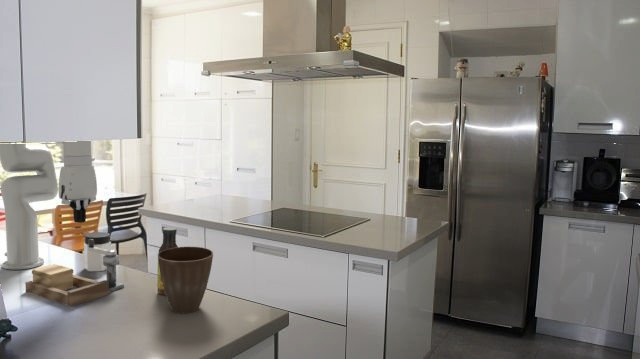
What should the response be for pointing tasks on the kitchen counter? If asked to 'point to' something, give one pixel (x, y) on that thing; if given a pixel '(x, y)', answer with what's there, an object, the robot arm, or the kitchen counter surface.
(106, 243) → the jar
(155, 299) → the kitchen counter surface
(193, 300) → the plant pot
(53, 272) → the tan wooden block
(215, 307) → the kitchen counter surface
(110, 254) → the crank
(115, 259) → the winch post
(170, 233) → the sauce bottle
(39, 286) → the bay
